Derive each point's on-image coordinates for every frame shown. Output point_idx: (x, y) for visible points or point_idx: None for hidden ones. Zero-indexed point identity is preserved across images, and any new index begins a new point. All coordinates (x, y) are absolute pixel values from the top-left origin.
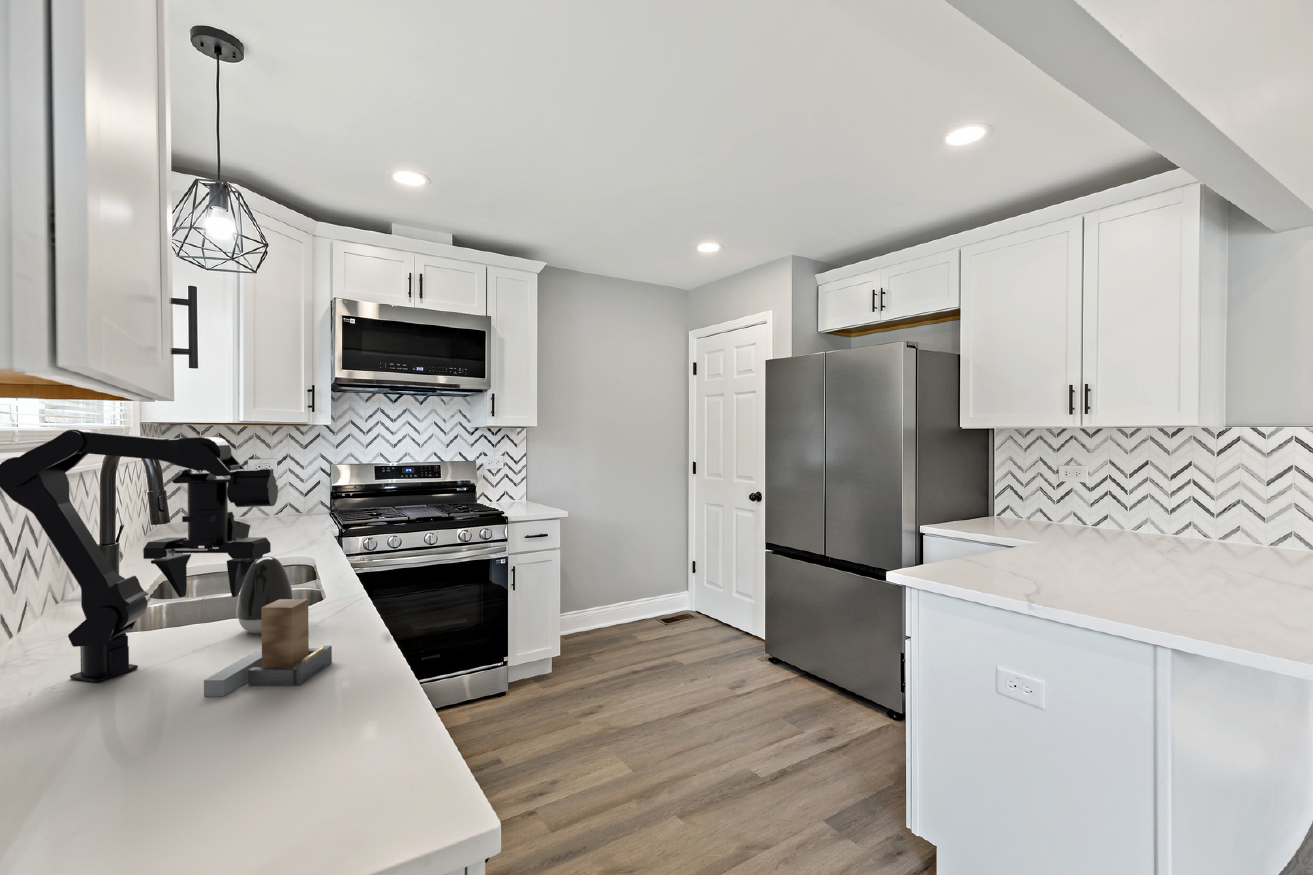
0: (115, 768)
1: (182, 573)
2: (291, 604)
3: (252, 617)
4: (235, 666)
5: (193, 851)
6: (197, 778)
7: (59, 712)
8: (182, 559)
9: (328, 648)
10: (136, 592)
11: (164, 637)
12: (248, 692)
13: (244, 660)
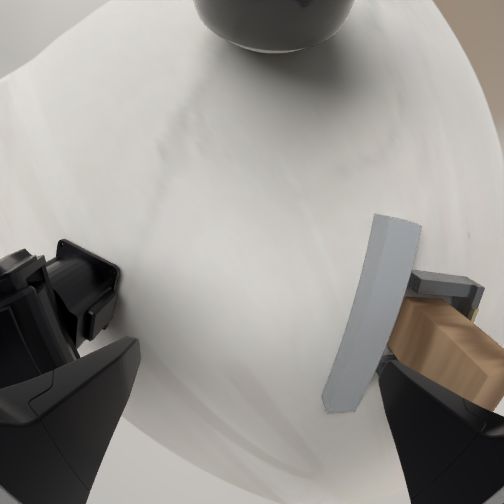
0: (304, 480)
1: (77, 423)
2: (493, 403)
3: (270, 47)
4: (358, 368)
5: (376, 496)
6: (365, 478)
7: (151, 410)
8: (19, 477)
9: (480, 298)
10: (10, 362)
11: (64, 75)
12: (377, 383)
13: (366, 343)
